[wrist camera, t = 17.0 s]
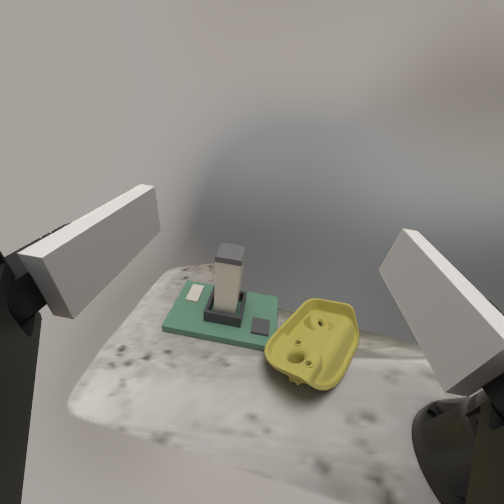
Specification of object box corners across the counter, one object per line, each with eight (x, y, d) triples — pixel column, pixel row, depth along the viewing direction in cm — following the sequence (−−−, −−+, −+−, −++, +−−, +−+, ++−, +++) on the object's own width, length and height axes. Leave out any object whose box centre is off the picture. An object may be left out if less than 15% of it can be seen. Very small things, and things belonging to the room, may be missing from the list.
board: (276, 301, 48) (280, 288, 46) (273, 352, 39) (278, 339, 36) (187, 285, 49) (186, 271, 47) (162, 331, 39) (160, 316, 37)
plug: (238, 304, 45) (245, 246, 37) (234, 320, 41) (242, 261, 33) (218, 300, 45) (221, 242, 37) (213, 316, 41) (215, 256, 34)
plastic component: (309, 296, 48) (359, 305, 41) (313, 326, 50) (360, 339, 43) (251, 355, 34) (313, 383, 27) (259, 393, 36) (319, 428, 29)
